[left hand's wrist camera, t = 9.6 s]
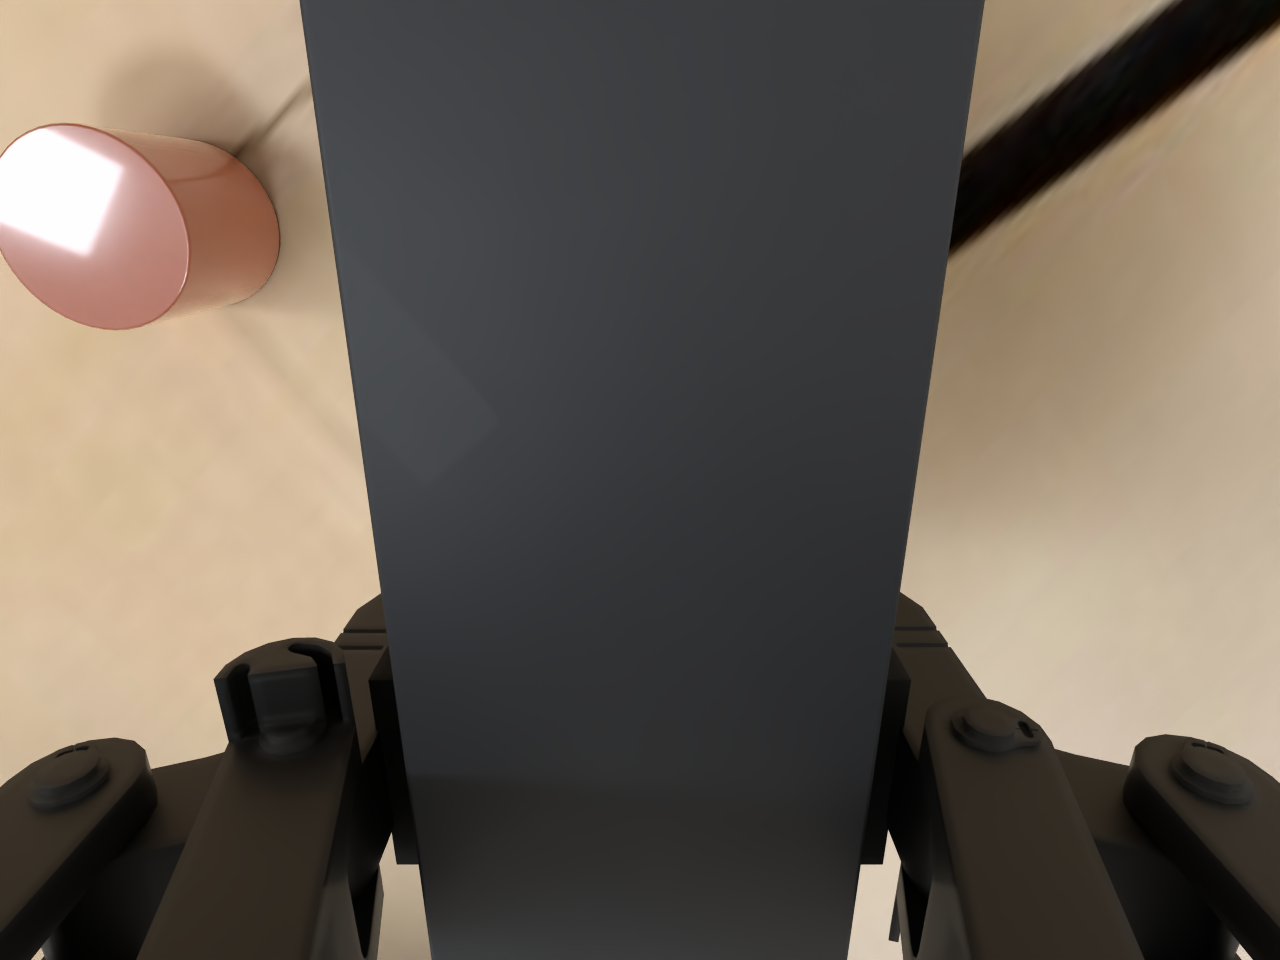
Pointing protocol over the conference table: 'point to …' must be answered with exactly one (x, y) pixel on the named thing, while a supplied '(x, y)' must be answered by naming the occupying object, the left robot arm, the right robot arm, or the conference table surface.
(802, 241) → the bar
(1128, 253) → the conference table surface
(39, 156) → the glossy pink cylinder
